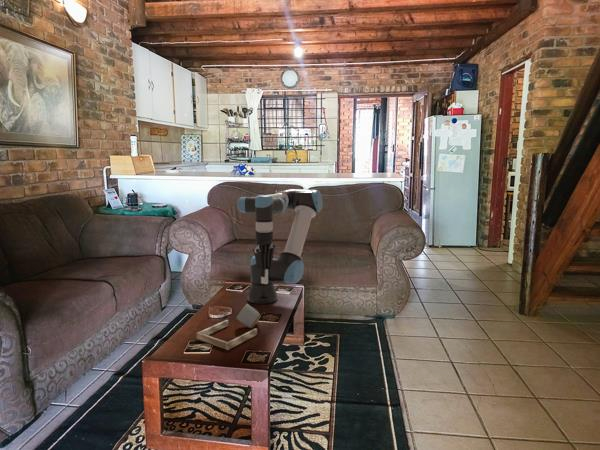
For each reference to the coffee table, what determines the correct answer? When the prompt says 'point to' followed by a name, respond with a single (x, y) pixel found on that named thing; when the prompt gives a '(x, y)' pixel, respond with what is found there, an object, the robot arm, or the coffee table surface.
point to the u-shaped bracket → (220, 343)
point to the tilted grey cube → (248, 316)
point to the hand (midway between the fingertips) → (264, 283)
